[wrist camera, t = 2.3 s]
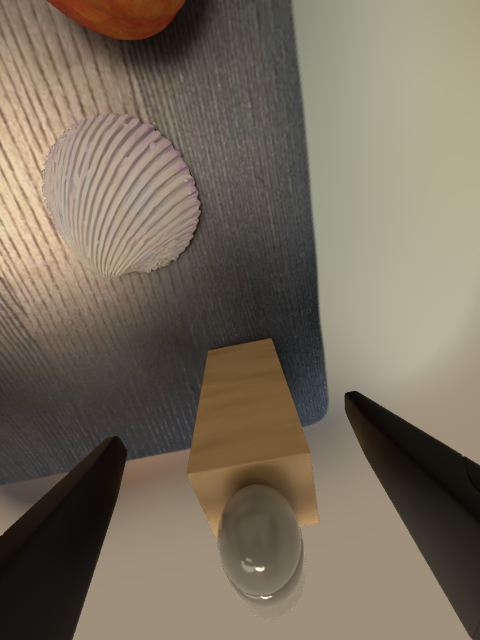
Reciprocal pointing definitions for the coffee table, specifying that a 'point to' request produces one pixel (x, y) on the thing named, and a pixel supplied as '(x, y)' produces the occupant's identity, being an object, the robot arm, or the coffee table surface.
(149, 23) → the fruit
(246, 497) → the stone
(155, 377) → the coffee table surface
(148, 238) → the seashell
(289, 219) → the coffee table surface
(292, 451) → the stand
